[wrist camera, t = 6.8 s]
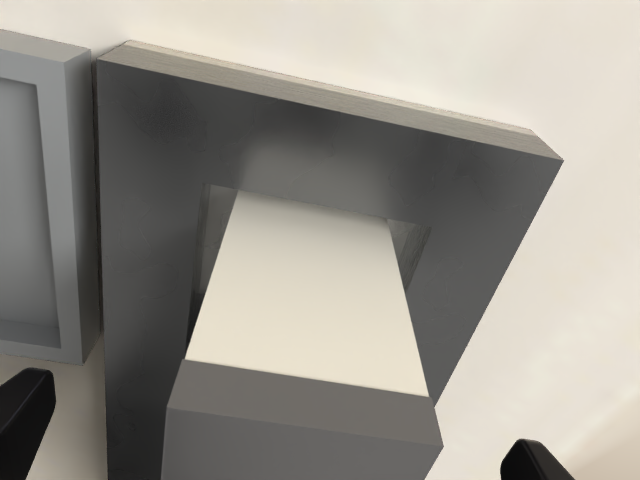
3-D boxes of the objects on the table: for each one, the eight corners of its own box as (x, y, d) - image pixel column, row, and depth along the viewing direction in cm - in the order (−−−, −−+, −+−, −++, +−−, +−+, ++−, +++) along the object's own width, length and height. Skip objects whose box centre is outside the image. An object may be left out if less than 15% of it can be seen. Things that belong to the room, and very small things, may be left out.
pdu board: (353, 507, 22) (356, 555, 20) (126, 479, 21) (109, 528, 19) (530, 129, 12) (564, 160, 11) (130, 39, 11) (96, 58, 9)
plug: (350, 325, 15) (369, 573, 9) (221, 303, 15) (155, 550, 9) (387, 214, 13) (443, 446, 7) (238, 185, 13) (166, 407, 7)
